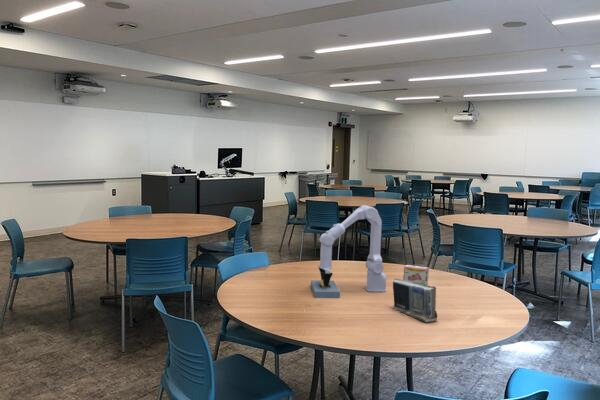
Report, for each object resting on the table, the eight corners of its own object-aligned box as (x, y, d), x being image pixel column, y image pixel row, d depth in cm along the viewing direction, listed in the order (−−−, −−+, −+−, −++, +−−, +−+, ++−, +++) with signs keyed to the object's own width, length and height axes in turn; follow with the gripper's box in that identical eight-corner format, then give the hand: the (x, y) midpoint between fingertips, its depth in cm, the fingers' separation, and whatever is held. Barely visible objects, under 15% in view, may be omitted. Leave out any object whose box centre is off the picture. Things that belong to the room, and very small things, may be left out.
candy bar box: (401, 299, 220) (403, 266, 219) (404, 296, 225) (405, 264, 223) (425, 303, 216) (427, 269, 214) (427, 300, 220) (429, 267, 219)
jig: (333, 286, 240) (333, 280, 240) (339, 297, 220) (340, 291, 220) (310, 285, 239) (310, 280, 239) (315, 297, 219) (315, 291, 219)
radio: (389, 306, 209) (390, 275, 208) (404, 305, 213) (406, 273, 211) (421, 324, 188) (423, 289, 187) (438, 322, 191) (440, 287, 190)
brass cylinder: (328, 290, 232) (328, 278, 231) (329, 292, 228) (329, 281, 227) (320, 290, 231) (320, 278, 231) (321, 292, 227) (321, 281, 227)
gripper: (316, 254, 235) (315, 280, 236) (319, 260, 220) (318, 288, 222) (329, 254, 235) (328, 280, 237) (334, 260, 221) (333, 288, 222)
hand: (325, 284), depth 229 cm, fingers open, 7 cm apart
